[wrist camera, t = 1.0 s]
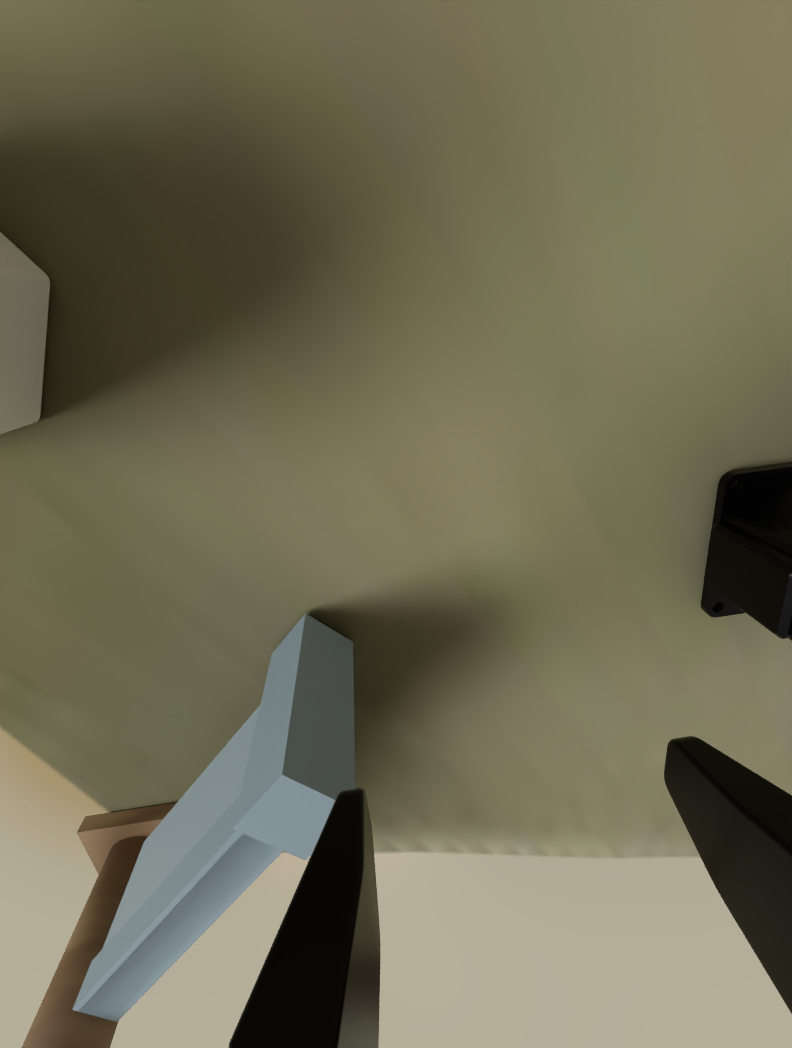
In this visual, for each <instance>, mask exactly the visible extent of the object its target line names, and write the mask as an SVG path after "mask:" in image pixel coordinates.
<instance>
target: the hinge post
mask: <svg viewBox="0 0 792 1048" xmlns="http://www.w3.org/2000/svg"><path fill="white" fill-rule="evenodd" d="M176 803H177V802H176ZM176 803H170V804H163V805H157V806H150V807H144V808H138V809H131V810H125V811H118V812H112V813H105V814H99V815H92V816H86V817H85V818H84V820H83V822H82V824H81V826H80V828H79V830H78V832H77V834H78V836H79V838H80V840H81V841H82V843H83V845H84V847H85V849H86V851H87V853H88V855H89V857H90V859H91V861H92V862H93V864H94V866H95V868H96V870H97V872H98V874H99V876H98V878H97V880H96V883H95V885H94V887H93V889H92V892H91V894H90V896H89V899H88V901H87V903H86V905H85V908H84V910H83V912H82V914H81V916H80V918H79V921H78V923H77V925H76V927H75V930H74V932H73V934H72V936H71V939H70V941H69V943H68V945H67V947H66V950H65V952H64V954H63V956H62V959H61V961H60V963H59V966H58V968H57V970H56V972H55V974H54V977H53V979H52V981H51V983H50V986H49V988H48V990H47V992H46V994H45V997H44V999H43V1001H42V1003H41V1006H40V1008H39V1010H38V1013H37V1015H36V1017H35V1019H34V1021H33V1023H32V1026H31V1028H30V1030H29V1033H28V1035H27V1037H26V1039H25V1041H24V1044H23V1046H22V1048H110V1045H111V1042H112V1039H113V1036H114V1033H115V1030H116V1027H117V1024H118V1021H119V1020H118V1021H117V1022H115V1021H112V1020H108V1019H104V1018H100V1017H97V1016H93V1015H89V1014H86V1013H82V1012H78V1011H75V1010H72V1009H73V1007H74V1004H75V1002H76V999H77V997H78V994H79V992H80V989H81V987H82V984H83V982H84V979H85V977H86V974H87V972H88V969H89V967H90V964H91V962H92V960H93V959H94V958H95V957H96V956H97V955H98V953H99V952H100V951H101V950H102V948H103V946H104V943H105V941H106V938H107V936H108V933H109V930H110V928H111V925H112V923H113V920H114V918H115V915H116V912H117V910H118V907H119V905H120V902H121V900H122V897H123V895H124V892H125V889H126V887H127V884H128V882H129V879H130V877H131V874H132V871H133V869H134V866H135V864H136V861H137V859H138V856H139V853H140V851H141V848H142V846H143V843H144V841H145V840H146V839H147V838H148V836H149V835H150V834H151V833H152V832H153V831H154V829H155V828H156V827H157V826H158V825H159V823H160V822H161V821H162V820H163V819H164V818H165V816H166V815H167V814H168V813H169V812H170V810H171V809H172V808H173V807H174V806H175V805H176Z"/></svg>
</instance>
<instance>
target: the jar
mask: <svg viewBox="0 0 792 1048" xmlns="http://www.w3.org/2000/svg"><path fill="white" fill-rule="evenodd" d="M49 295H50V280H49V277H48V276H47V275H46V274H45V273H44V272H43V271H42V270H41V269H40V268H39V267H38V266H37V265H36V264H35V263H34V262H33V261H31V260H30V259H29V258H28V257H27V256H26V255H25V254H24V253H23V252H22V251H21V250H20V249H19V248H17V247H16V246H15V245H14V244H13V243H12V242H11V241H10V240H9V239H8V238H7V237H6V236H4V235H3V234H2V233H1V232H0V435H1V434H4V433H7V432H10V431H13V430H16V429H18V428H21V427H24V426H27V425H30V424H33V423H36V422H37V421H38V420H39V419H40V414H41V401H42V388H43V374H44V361H45V348H46V334H47V321H48V308H49Z"/></svg>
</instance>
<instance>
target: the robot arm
mask: <svg viewBox="0 0 792 1048" xmlns="http://www.w3.org/2000/svg"><path fill="white" fill-rule="evenodd" d="M735 481H737V483H736V485H735V486H734V487H733V488H731V486H732V484H733V483H734V482H735ZM716 603H717V604H716ZM715 604H716V605H715ZM714 605H715V606H714ZM713 606H714V607H713ZM701 608H702V610H703V611H704V612H706V613H707V614H708V615H709V616H711V617H721V616H728V615H735V614H742V613H747V614H748V615H749V616H751V617H752V618H753V619H755V620H756V621H757V622H759V623H760V624H762V625H763V626H764V627H766V628H767V629H768V630H770V631H771V632H772V633H774V634H775V635H776V636H778V637H779V638H782V639H785V638H789V639H790V640H792V463H786V464H778V465H771V466H764V467H756V468H749V469H742V470H734V471H730V472H727V473H726V474H725V475H723V476H722V478H721V479H720V481H719V484H718V490H717V497H716V503H715V510H714V517H713V524H712V530H711V536H710V543H709V549H708V556H707V563H706V570H705V577H704V586H703V593H702V600H701ZM664 779H665V783H666V786H667V789H668V791H669V793H670V795H671V797H672V799H673V801H674V804H675V806H676V808H677V810H678V812H679V814H680V816H681V818H682V820H683V822H684V824H685V826H686V828H687V830H688V832H689V834H690V836H691V838H692V840H693V842H694V844H695V846H696V848H697V851H698V853H699V855H700V857H701V859H702V861H703V863H704V865H705V867H706V869H707V871H708V873H709V875H710V877H711V879H712V881H713V882H714V884H715V886H716V888H717V890H718V892H719V893H720V895H721V897H722V899H723V900H724V902H725V904H726V905H727V907H728V909H729V911H730V912H731V914H732V916H733V917H734V919H735V921H736V922H737V924H738V926H739V927H740V929H741V930H742V932H743V934H744V935H745V937H746V939H747V940H748V942H749V944H750V945H751V947H752V949H753V950H754V952H755V954H756V955H757V957H758V959H759V960H760V962H761V963H762V965H763V967H764V968H765V970H766V972H767V974H768V975H769V977H770V979H771V980H772V982H773V983H774V985H775V987H776V988H777V990H778V992H779V993H780V995H781V997H782V998H783V1000H784V1002H785V1003H786V1005H787V1007H788V1008H789V1010H790V1012H791V1013H792V795H790V794H788V793H787V792H785V791H784V790H782V789H780V788H779V787H777V786H775V785H774V784H772V783H771V782H769V781H767V780H766V779H764V778H762V777H761V776H759V775H758V774H756V773H754V772H753V771H751V770H750V769H748V768H746V767H745V766H743V765H741V764H740V763H738V762H737V761H735V760H733V759H732V758H730V757H728V756H727V755H725V754H724V753H722V752H720V751H719V750H717V749H715V748H714V747H712V746H711V745H709V744H707V743H706V742H704V741H702V740H701V739H699V738H696V737H693V736H688V737H682V738H676V739H672V740H670V742H669V743H668V746H667V754H666V762H665V770H664ZM379 992H380V930H379V915H378V901H377V888H376V875H375V862H374V848H373V836H372V826H371V820H370V815H369V810H368V805H367V799H366V794H365V791H364V790H363V789H362V788H357V789H351V790H344V791H341V792H340V793H339V794H338V796H337V798H336V800H335V802H334V804H333V807H332V809H331V811H330V814H329V816H328V818H327V820H326V823H325V825H324V827H323V830H322V832H321V834H320V837H319V839H318V841H317V843H316V846H315V848H314V850H313V853H312V855H311V857H310V859H309V862H308V864H307V866H306V869H305V871H304V873H303V875H302V878H301V880H300V882H299V885H298V887H297V889H296V892H295V894H294V896H293V899H292V901H291V903H290V905H289V908H288V910H287V913H286V914H285V917H284V919H283V921H282V924H281V926H280V929H279V930H278V933H277V935H276V938H275V940H274V942H273V944H272V947H271V949H270V951H269V954H268V956H267V958H266V960H265V963H264V965H263V968H262V970H261V972H260V974H259V976H258V979H257V981H256V983H255V985H254V988H253V990H252V992H251V995H250V997H249V999H248V1002H247V1004H246V1006H245V1008H244V1011H243V1013H242V1015H241V1018H240V1020H239V1022H238V1025H237V1027H236V1029H235V1031H234V1034H233V1036H232V1038H231V1041H230V1043H229V1048H378V1037H379V1036H378V1035H379Z"/></svg>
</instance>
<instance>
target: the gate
mask: <svg viewBox="0 0 792 1048" xmlns="http://www.w3.org/2000/svg"><path fill="white" fill-rule="evenodd" d="M351 789H355V735H354V669H353V642H352V641H351V640H349V639H347V638H346V637H344V636H342V635H341V634H339V633H337V632H336V631H334V630H332V629H331V628H329V627H327V626H326V625H324V624H322V623H321V622H319V621H317V620H316V619H314V618H312V617H311V616H309V615H307V614H306V613H305V614H304V616H303V617H302V618H301V619H300V620H299V622H298V623H297V624H296V625H295V627H294V628H293V629H292V630H291V631H290V633H289V634H288V635H287V636H286V637H285V639H284V640H283V641H282V642H281V643H280V645H279V646H278V647H277V648H276V650H275V651H274V652H273V653H272V656H271V661H270V665H269V669H268V674H267V678H266V683H265V687H264V692H263V696H262V700H261V705H260V706H259V707H258V708H257V709H256V710H255V712H254V713H253V714H252V715H251V716H250V717H249V719H248V720H247V721H246V722H245V723H244V725H243V726H242V727H241V728H240V729H239V730H238V732H237V733H236V734H235V735H234V736H233V737H232V739H231V740H230V741H229V742H228V743H227V745H226V746H225V747H224V748H223V749H222V750H221V752H220V753H219V754H218V755H217V756H216V757H215V759H214V760H213V761H212V762H211V763H210V765H209V766H208V767H207V768H206V769H205V770H204V772H203V773H202V774H201V775H200V776H199V778H198V779H197V780H196V781H195V782H194V783H193V785H192V786H191V787H190V788H189V789H188V790H187V792H186V793H185V794H184V795H183V796H182V798H181V799H180V800H179V801H178V802H177V803H176V805H175V806H174V807H173V808H172V809H171V810H170V812H169V813H168V814H167V815H166V816H165V818H164V819H163V820H162V821H161V822H160V823H159V825H158V826H157V827H156V828H155V829H154V831H153V832H152V833H151V834H150V835H149V836H148V838H147V839H146V840H145V841H144V843H143V846H142V848H141V851H140V853H139V856H138V859H137V861H136V864H135V866H134V869H133V871H132V874H131V877H130V879H129V882H128V884H127V887H126V889H125V892H124V895H123V897H122V900H121V902H120V905H119V907H118V910H117V912H116V915H115V918H114V920H113V923H112V925H111V928H110V930H109V933H108V936H107V938H106V941H105V943H104V946H103V948H102V950H101V951H100V952H99V953H98V955H97V956H96V957H95V958H94V959H93V960H92V962H91V964H90V967H89V969H88V972H87V974H86V977H85V979H84V982H83V984H82V987H81V989H80V992H79V994H78V997H77V999H76V1002H75V1004H74V1007H73V1009H72V1010H75V1011H78V1012H82V1013H86V1014H89V1015H93V1016H97V1017H100V1018H104V1019H108V1020H112V1021H115V1022H117V1021H118V1020H119V1019H120V1018H121V1017H122V1016H123V1015H124V1014H125V1013H126V1012H127V1011H128V1010H129V1009H130V1008H131V1007H132V1006H133V1005H134V1004H135V1003H136V1002H137V1001H138V1000H139V999H140V998H141V997H142V996H143V995H144V994H145V993H146V992H147V991H148V990H149V989H150V988H151V986H152V985H153V984H154V983H155V982H156V981H157V980H158V979H159V978H160V977H161V976H162V975H163V974H164V973H165V972H166V971H167V970H168V969H169V968H170V967H171V966H172V965H173V964H174V963H175V962H176V961H177V960H178V959H179V957H181V956H182V955H183V954H184V953H185V952H186V950H187V949H188V948H189V947H190V946H191V945H192V944H193V943H194V942H195V941H196V940H197V939H198V938H199V937H200V936H201V935H202V934H203V933H204V932H205V931H206V930H207V929H208V928H209V927H210V925H212V924H213V923H214V922H215V921H216V920H217V919H218V918H219V917H220V915H221V914H222V913H223V912H224V911H225V910H226V909H227V908H228V907H229V906H230V905H231V904H232V903H233V902H234V901H235V900H236V899H237V898H238V897H239V896H240V895H241V894H242V893H243V892H244V891H245V890H246V889H247V888H248V887H249V886H250V885H251V884H252V882H253V881H254V880H256V878H257V877H258V876H259V875H260V874H261V873H262V872H263V871H264V870H265V869H266V868H267V867H268V866H269V865H270V864H271V863H272V862H273V861H274V860H275V859H276V858H277V857H278V856H279V855H280V854H281V853H282V852H283V851H285V852H287V853H290V854H292V855H294V856H297V857H299V858H301V859H304V860H306V859H307V858H308V857H309V856H310V855H311V854H312V853H313V850H314V848H315V846H316V843H317V841H318V839H319V837H320V834H321V832H322V830H323V827H324V825H325V823H326V820H327V818H328V816H329V814H330V811H331V809H332V807H333V804H334V802H335V800H336V798H337V796H338V794H339V793H340V792H341V791H344V790H351Z"/></svg>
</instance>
